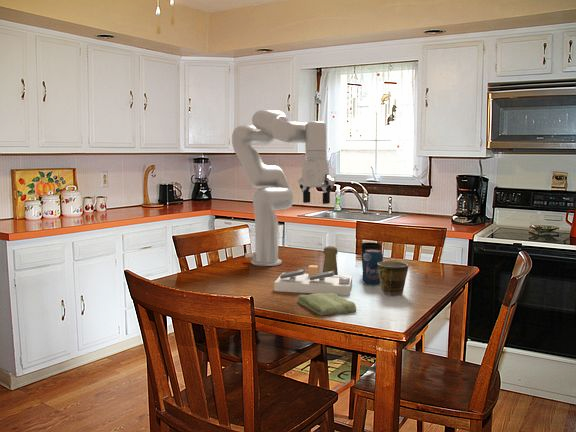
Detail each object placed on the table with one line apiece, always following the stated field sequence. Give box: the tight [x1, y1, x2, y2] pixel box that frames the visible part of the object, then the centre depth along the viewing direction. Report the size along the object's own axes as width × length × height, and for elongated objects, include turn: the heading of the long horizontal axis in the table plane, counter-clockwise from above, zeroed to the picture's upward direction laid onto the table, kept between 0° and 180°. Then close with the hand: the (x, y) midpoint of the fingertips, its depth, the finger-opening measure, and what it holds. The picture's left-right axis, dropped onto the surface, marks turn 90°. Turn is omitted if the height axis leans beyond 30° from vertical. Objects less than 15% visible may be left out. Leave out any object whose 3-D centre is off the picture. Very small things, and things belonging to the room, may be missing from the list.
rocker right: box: [310, 271, 334, 280], centre depth 184 cm, size 8×4×1 cm, turn 80°
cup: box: [360, 242, 382, 269], centre depth 208 cm, size 8×8×12 cm
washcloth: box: [297, 293, 357, 316], centre depth 166 cm, size 13×18×3 cm
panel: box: [273, 272, 353, 296], centre depth 189 cm, size 25×15×4 cm, turn 80°
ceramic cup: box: [378, 260, 409, 297], centre depth 180 cm, size 13×10×10 cm
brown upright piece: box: [321, 245, 339, 275], centre depth 207 cm, size 6×6×11 cm
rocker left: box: [279, 268, 306, 279], centre depth 186 cm, size 8×4×1 cm, turn 80°
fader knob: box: [307, 264, 319, 275], centre depth 193 cm, size 3×3×3 cm
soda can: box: [362, 249, 384, 287], centre depth 195 cm, size 7×7×12 cm
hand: (316, 203), depth 201 cm, fingers open, 9 cm apart
